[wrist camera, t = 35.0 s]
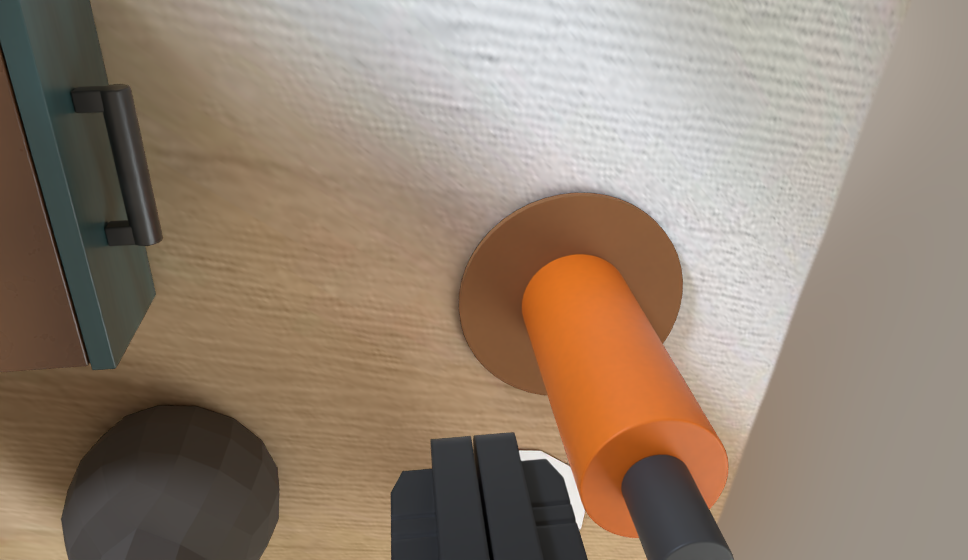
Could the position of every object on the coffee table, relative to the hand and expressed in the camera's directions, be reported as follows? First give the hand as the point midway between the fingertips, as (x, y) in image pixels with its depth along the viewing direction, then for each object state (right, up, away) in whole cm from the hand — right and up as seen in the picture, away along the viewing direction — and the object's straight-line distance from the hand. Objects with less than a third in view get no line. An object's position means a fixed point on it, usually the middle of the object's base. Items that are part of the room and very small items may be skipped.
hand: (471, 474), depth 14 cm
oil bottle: (+5, +2, +25) cm, 25 cm away
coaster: (+5, +3, +25) cm, 25 cm away
